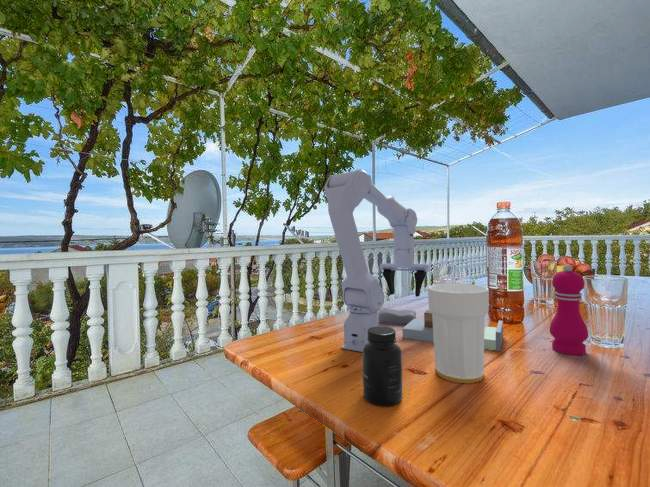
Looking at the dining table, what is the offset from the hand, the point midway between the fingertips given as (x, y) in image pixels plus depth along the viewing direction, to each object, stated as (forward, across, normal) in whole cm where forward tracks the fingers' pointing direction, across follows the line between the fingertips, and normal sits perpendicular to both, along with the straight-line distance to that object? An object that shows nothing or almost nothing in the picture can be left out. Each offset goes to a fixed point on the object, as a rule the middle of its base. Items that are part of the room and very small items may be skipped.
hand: (404, 295), depth 97 cm
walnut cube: (+7, -9, +4) cm, 12 cm away
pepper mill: (+10, -39, +2) cm, 40 cm away
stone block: (+10, +5, -7) cm, 14 cm away
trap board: (+10, -13, +4) cm, 17 cm away
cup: (+10, -19, +26) cm, 33 cm away
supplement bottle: (+10, -8, +42) cm, 44 cm away
